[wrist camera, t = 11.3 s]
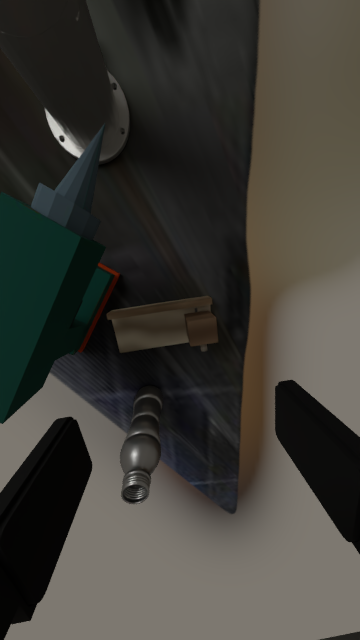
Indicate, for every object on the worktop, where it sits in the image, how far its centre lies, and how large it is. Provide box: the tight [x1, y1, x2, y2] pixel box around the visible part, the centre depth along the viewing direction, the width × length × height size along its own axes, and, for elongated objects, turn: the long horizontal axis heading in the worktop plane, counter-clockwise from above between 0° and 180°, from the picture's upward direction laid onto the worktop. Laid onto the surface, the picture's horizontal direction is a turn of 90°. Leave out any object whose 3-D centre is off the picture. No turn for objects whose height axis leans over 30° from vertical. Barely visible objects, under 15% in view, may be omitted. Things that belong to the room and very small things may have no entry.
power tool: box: [0, 122, 120, 424], centre depth 26 cm, size 32×7×20 cm, turn 150°
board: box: [107, 296, 212, 353], centre depth 37 cm, size 9×20×4 cm, turn 98°
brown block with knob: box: [184, 310, 218, 352], centre depth 35 cm, size 6×5×6 cm
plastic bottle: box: [120, 385, 163, 504], centre depth 33 cm, size 6×7×20 cm
